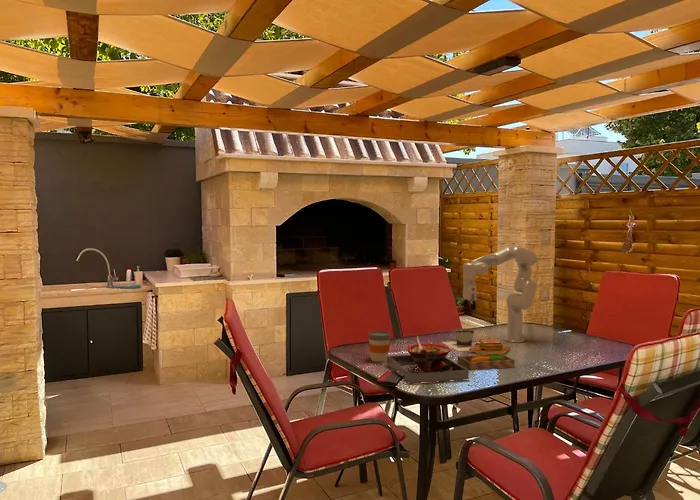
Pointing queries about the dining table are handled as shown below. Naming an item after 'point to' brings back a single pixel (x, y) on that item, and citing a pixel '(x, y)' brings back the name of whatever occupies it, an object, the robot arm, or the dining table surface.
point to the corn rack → (485, 362)
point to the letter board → (457, 348)
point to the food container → (464, 337)
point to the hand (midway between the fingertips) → (469, 308)
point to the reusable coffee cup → (379, 345)
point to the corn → (488, 357)
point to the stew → (429, 357)
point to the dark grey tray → (454, 374)
